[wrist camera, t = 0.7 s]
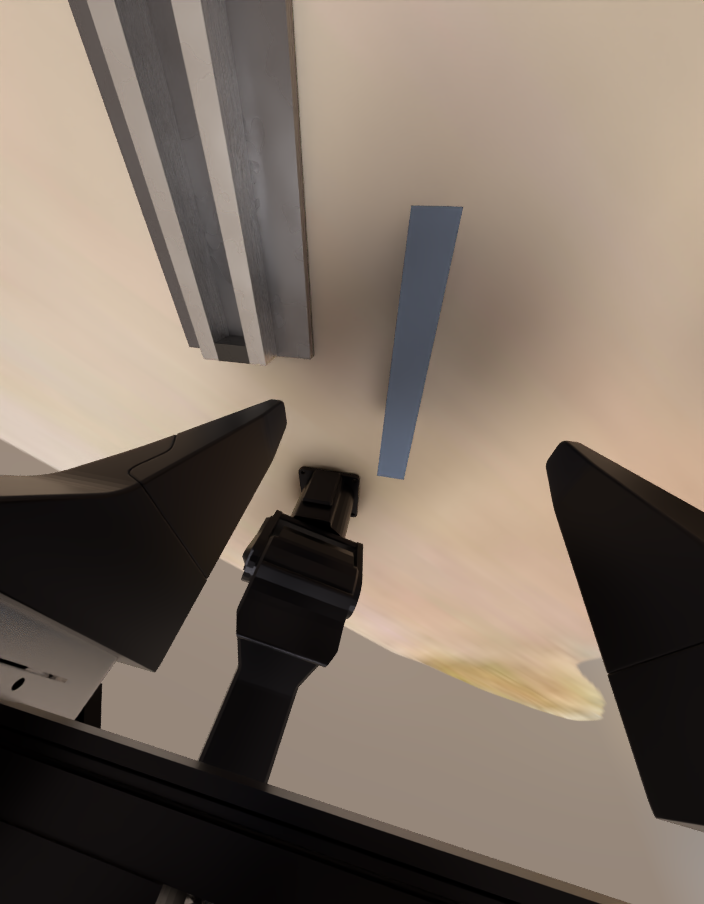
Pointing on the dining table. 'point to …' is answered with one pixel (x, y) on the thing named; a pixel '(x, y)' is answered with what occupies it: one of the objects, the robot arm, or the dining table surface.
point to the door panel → (416, 327)
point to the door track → (213, 161)
